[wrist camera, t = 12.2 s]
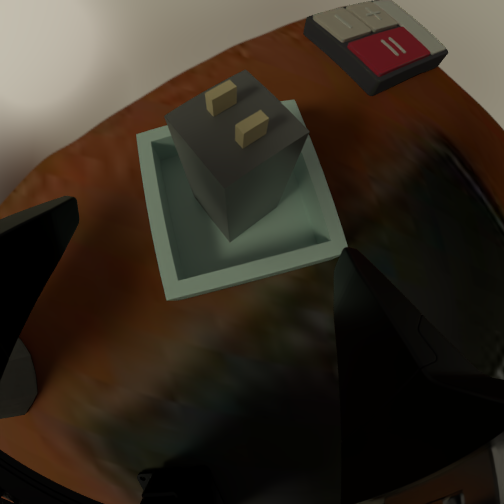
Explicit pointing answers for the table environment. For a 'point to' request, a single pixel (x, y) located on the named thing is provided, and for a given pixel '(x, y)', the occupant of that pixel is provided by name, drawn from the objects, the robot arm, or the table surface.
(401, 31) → the calculator
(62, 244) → the robot arm
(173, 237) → the walled box
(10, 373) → the coffeepot
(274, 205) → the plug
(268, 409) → the table surface
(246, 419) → the table surface
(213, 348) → the table surface
